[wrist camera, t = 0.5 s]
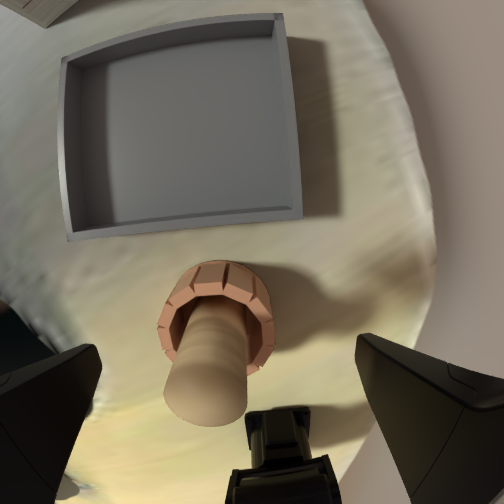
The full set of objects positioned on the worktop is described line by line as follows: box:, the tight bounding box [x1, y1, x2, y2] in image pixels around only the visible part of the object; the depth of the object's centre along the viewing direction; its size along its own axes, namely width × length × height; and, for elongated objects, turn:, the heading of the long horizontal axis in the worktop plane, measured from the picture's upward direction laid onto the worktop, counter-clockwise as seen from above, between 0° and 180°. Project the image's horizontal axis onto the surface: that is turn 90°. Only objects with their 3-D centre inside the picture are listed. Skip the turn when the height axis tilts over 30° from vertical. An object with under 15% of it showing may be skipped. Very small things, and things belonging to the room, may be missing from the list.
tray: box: [57, 13, 303, 242], centre depth 17 cm, size 14×16×4 cm
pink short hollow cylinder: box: [157, 260, 275, 376], centre depth 20 cm, size 8×8×4 cm
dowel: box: [164, 295, 247, 427], centre depth 17 cm, size 4×4×10 cm
